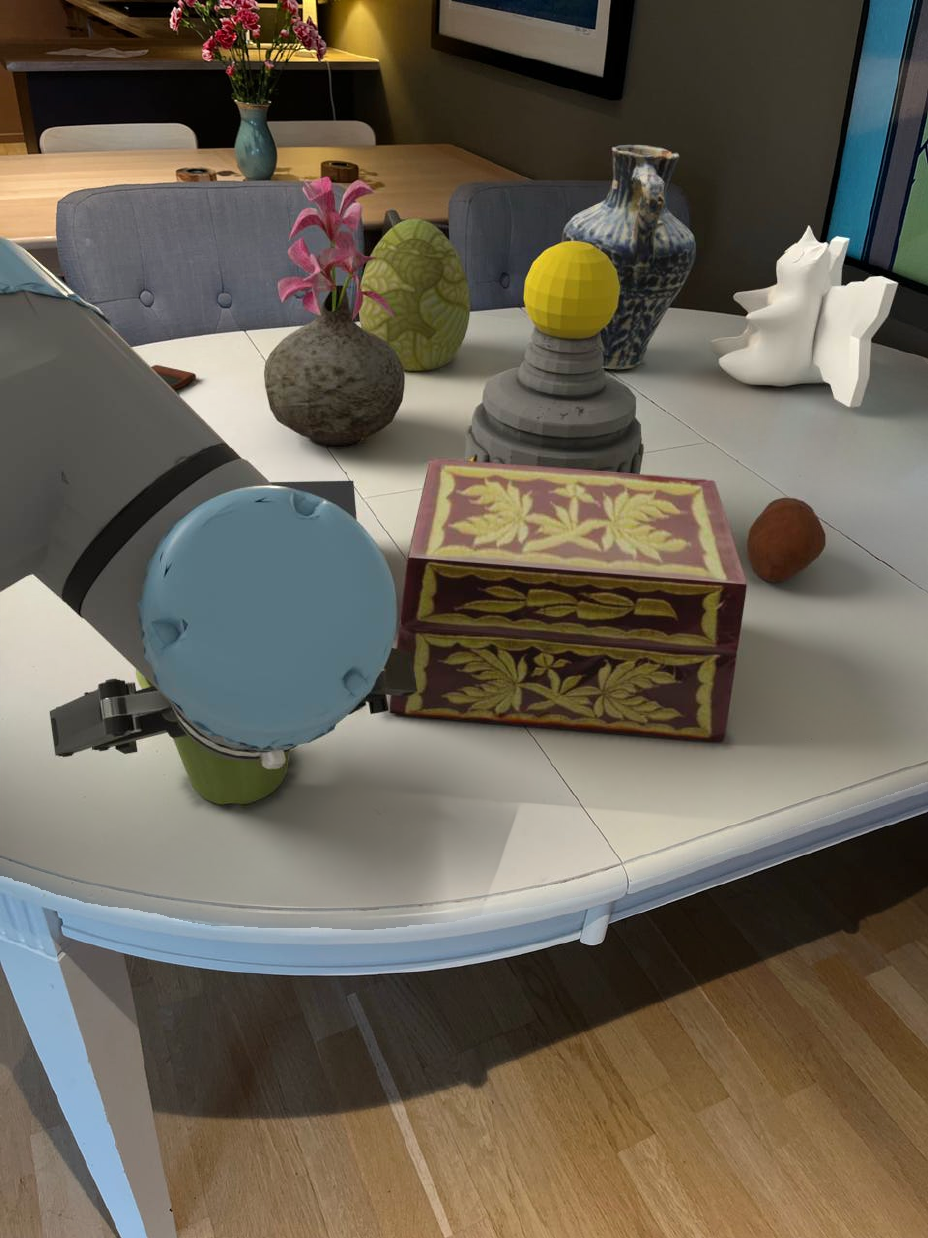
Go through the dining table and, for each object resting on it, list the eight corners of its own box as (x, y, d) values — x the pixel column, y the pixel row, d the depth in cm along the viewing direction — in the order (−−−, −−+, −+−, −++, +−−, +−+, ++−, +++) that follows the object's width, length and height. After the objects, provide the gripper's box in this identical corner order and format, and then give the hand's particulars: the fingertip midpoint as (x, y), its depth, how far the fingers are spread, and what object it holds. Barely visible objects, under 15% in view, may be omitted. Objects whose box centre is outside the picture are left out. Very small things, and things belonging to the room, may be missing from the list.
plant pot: (126, 808, 69) (99, 688, 62) (209, 707, 78) (193, 593, 72) (275, 851, 66) (263, 730, 60) (343, 742, 76) (339, 627, 69)
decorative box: (696, 614, 93) (728, 474, 84) (724, 744, 78) (768, 591, 69) (414, 591, 94) (417, 450, 85) (388, 716, 78) (389, 560, 70)
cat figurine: (696, 347, 156) (723, 208, 143) (826, 355, 155) (865, 217, 143) (723, 408, 135) (758, 252, 123) (874, 417, 135) (923, 263, 123)
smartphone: (81, 399, 124) (155, 363, 136) (83, 406, 125) (156, 369, 136) (126, 410, 122) (197, 372, 133) (127, 417, 123) (197, 379, 134)
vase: (245, 450, 117) (221, 186, 99) (309, 399, 130) (298, 159, 113) (372, 476, 113) (370, 206, 95) (424, 421, 127) (431, 176, 109)
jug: (536, 338, 155) (556, 133, 138) (649, 337, 158) (682, 137, 141) (570, 387, 138) (597, 162, 121) (696, 385, 142) (740, 165, 124)
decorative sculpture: (412, 387, 136) (414, 240, 124) (337, 355, 144) (333, 215, 133) (489, 361, 146) (498, 223, 134) (414, 332, 154) (417, 200, 143)
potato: (813, 547, 104) (833, 482, 100) (816, 604, 95) (839, 535, 91) (742, 535, 106) (758, 470, 101) (739, 590, 97) (756, 521, 92)
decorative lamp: (437, 495, 110) (448, 220, 92) (586, 477, 115) (622, 214, 98) (495, 583, 95) (520, 276, 78) (661, 557, 101) (719, 266, 84)
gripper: (-52, 816, 38) (38, 809, 58) (536, 707, 45) (433, 735, 65) (-74, 630, 39) (22, 688, 59) (505, 552, 46) (413, 627, 66)
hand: (238, 712), depth 62 cm, fingers open, 13 cm apart
